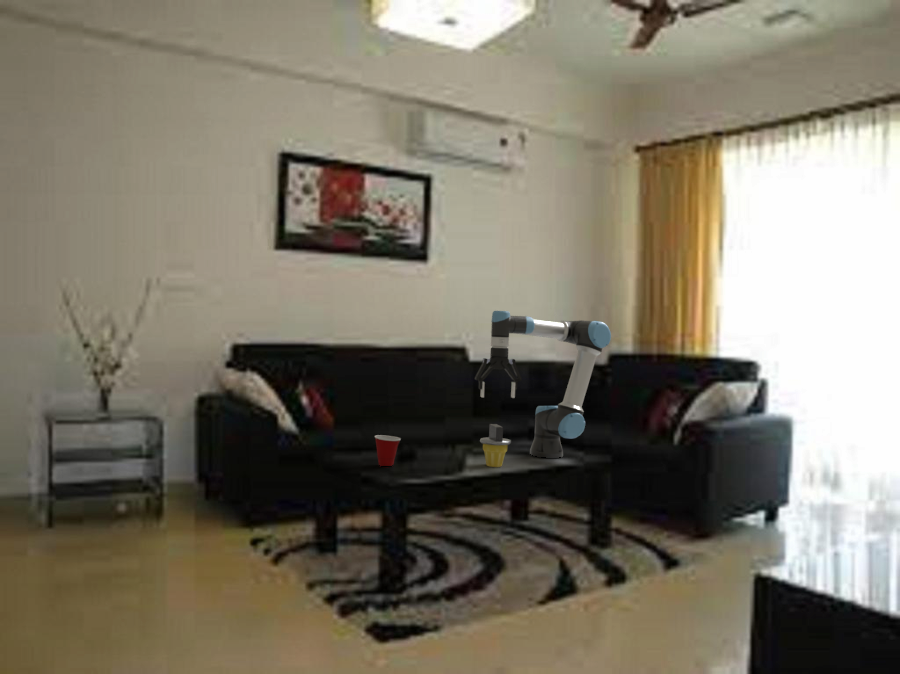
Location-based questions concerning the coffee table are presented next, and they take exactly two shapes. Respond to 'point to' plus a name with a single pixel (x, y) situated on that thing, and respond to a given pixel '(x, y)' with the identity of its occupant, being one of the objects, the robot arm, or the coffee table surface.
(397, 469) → the coffee table surface
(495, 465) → the plant pot
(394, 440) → the plastic cup
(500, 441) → the steel lid
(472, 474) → the coffee table surface
